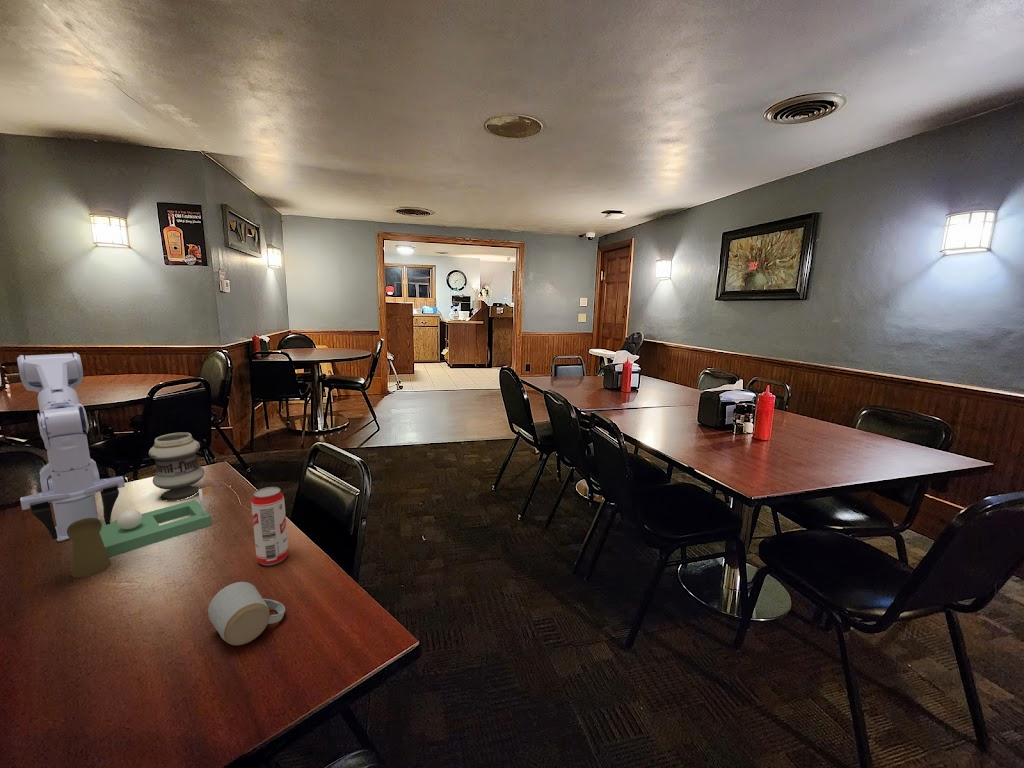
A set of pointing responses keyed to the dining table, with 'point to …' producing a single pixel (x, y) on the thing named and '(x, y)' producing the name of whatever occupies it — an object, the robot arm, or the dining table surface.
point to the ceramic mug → (242, 613)
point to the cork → (87, 548)
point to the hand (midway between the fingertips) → (82, 529)
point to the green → (154, 527)
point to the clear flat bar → (201, 493)
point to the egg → (129, 519)
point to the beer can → (269, 526)
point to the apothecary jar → (176, 465)
